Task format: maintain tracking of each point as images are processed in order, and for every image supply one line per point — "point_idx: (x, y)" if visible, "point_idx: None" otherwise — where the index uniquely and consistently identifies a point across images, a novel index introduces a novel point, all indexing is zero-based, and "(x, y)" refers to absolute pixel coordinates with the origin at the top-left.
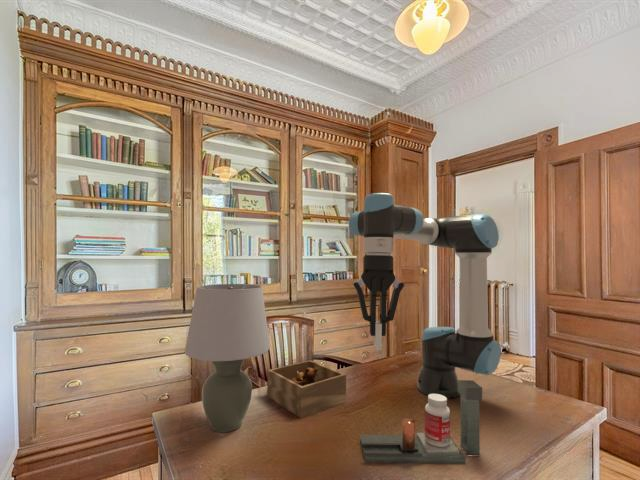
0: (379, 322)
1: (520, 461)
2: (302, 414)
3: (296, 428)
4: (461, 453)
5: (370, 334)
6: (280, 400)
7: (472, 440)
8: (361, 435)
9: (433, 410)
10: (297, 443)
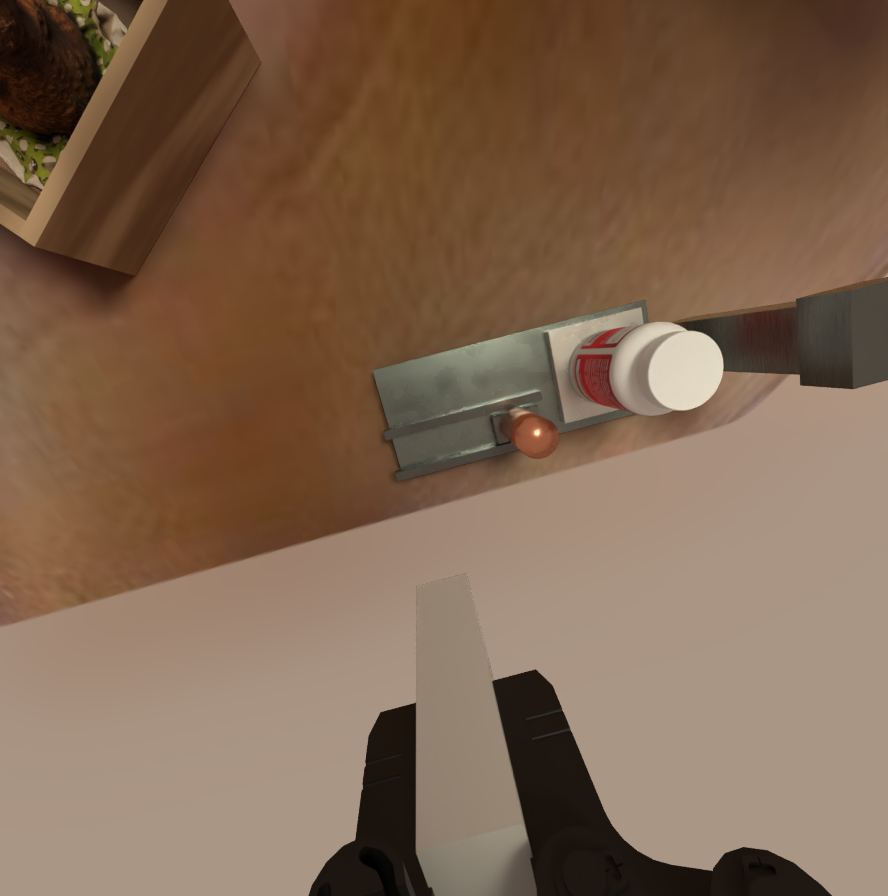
0: (521, 880)
1: None
2: (130, 267)
3: (153, 352)
4: None
5: (381, 720)
6: None
7: None
8: (375, 373)
9: (641, 407)
10: (195, 435)
